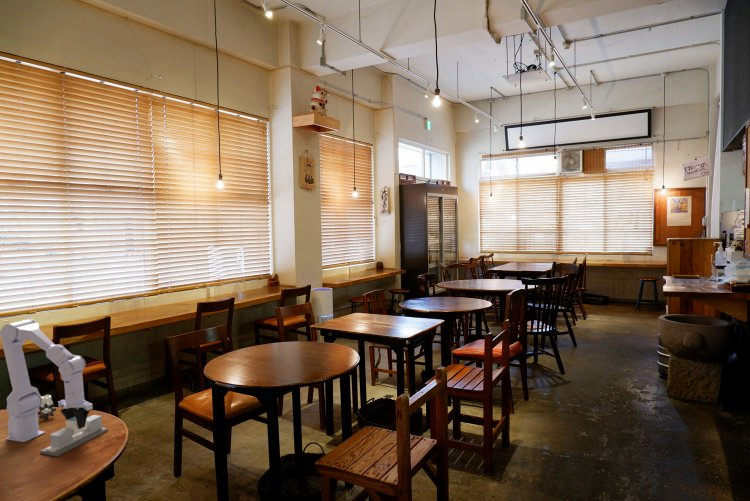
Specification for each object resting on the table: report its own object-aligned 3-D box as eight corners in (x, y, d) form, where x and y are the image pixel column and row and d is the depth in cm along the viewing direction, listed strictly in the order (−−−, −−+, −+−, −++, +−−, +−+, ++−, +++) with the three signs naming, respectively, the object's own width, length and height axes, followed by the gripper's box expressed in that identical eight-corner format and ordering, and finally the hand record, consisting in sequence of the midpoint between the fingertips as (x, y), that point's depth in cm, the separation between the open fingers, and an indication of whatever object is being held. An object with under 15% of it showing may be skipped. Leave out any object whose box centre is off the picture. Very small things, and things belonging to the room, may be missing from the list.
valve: (38, 412, 198) (37, 421, 188) (36, 397, 197) (35, 405, 187) (56, 408, 202) (56, 417, 192) (55, 393, 201) (55, 401, 191)
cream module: (66, 433, 168) (65, 419, 168) (79, 427, 173) (78, 414, 172) (74, 435, 167) (73, 421, 166) (87, 429, 172) (86, 415, 171)
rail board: (40, 453, 161) (39, 437, 161) (91, 428, 180) (90, 413, 180) (57, 456, 159) (55, 440, 158) (107, 430, 178) (106, 415, 177)
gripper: (49, 392, 168) (52, 429, 168) (78, 396, 163) (81, 434, 164) (67, 386, 174) (70, 421, 175) (96, 389, 170) (99, 425, 170)
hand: (77, 426), depth 170 cm, fingers closed on cream module, 4 cm apart
